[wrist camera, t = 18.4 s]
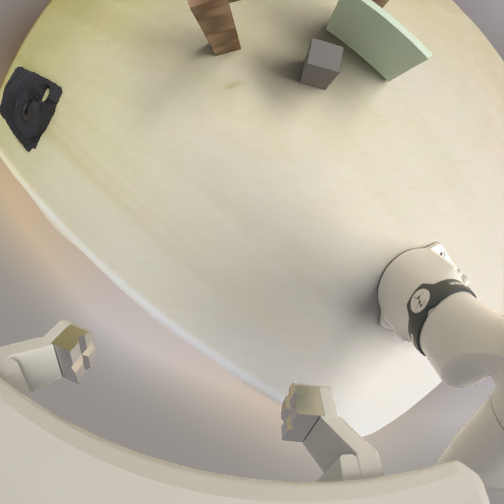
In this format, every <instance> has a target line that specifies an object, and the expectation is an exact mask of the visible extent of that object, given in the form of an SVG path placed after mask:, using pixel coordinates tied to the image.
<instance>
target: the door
mask: <svg viewBox="0 0 504 504" xmlns="http://www.w3.org/2000/svg"><path fill="white" fill-rule="evenodd" d="M326 30H327V31H329V32H330V33H331V34H333V35H334V36H336V37H337V38H338V39H340V40H341V41H342V42H343V43H345V44H346V45H347V46H349V47H350V48H351V49H352V50H354V51H355V52H356V53H357V54H358V55H360V56H361V57H362V58H363V59H364V60H365V61H367V62H368V63H369V64H370V65H371V66H372V67H373V68H374V69H376V70H377V71H378V72H379V73H380V74H381V75H382V76H383V77H384V78H385V79H386V80H387V81H388V82H389V81H391V80H392V79H394V78H396V77H397V76H399V75H401V74H402V73H404V72H406V71H408V70H409V69H411V68H413V67H415V66H416V65H418V64H420V63H422V62H424V61H425V60H427V59H429V58H430V56H431V55H432V53H431V52H430V51H429V50H428V49H427V48H426V47H425V46H424V45H423V44H422V43H421V42H420V41H419V40H418V39H417V38H416V37H415V36H414V35H413V34H411V33H410V32H409V31H408V30H407V29H406V28H405V27H404V26H403V25H402V24H400V23H399V22H398V21H397V20H396V19H395V18H393V17H392V16H391V15H390V14H389V13H387V12H386V11H385V10H384V9H382V8H381V7H380V6H379V5H377V4H376V3H375V2H373V1H372V0H339V1H338V3H337V6H336V8H335V10H334V12H333V14H332V16H331V19H330V21H329V23H328V25H327V27H326Z"/></svg>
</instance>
